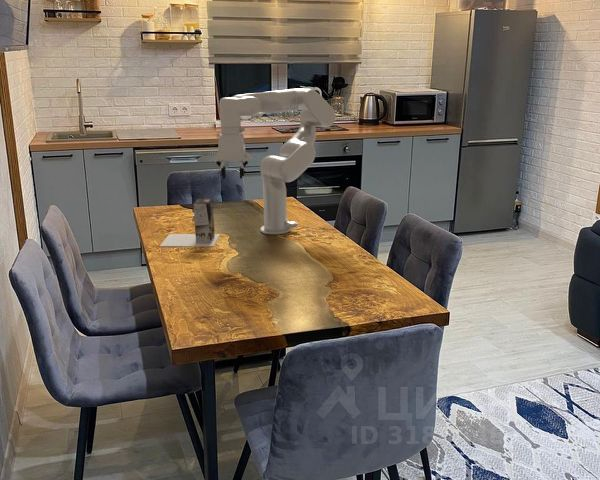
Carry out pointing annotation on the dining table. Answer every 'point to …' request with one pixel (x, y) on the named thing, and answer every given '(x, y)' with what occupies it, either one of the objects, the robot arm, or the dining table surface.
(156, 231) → the dining table surface
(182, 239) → the mat
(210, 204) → the coffee box
